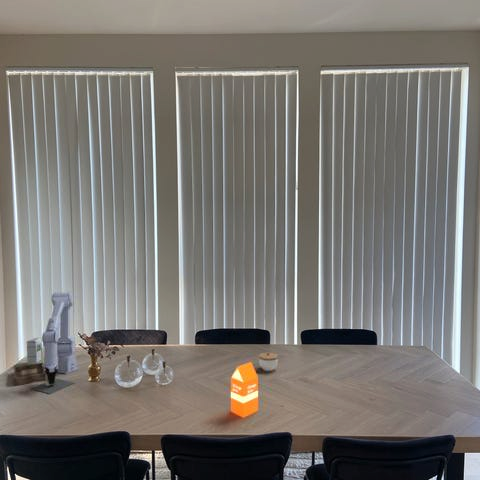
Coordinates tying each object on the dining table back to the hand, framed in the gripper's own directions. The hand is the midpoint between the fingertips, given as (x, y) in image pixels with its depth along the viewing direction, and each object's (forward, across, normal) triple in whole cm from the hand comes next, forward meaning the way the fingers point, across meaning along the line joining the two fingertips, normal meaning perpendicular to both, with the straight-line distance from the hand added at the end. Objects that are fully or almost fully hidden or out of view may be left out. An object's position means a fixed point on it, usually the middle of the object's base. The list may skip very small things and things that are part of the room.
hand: (51, 381), depth 188 cm
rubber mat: (+2, 0, +1) cm, 2 cm away
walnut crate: (+2, -20, -10) cm, 22 cm away
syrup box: (+2, -42, -7) cm, 43 cm away
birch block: (+1, 0, 0) cm, 1 cm away
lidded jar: (+2, +35, +106) cm, 112 cm away
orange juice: (+2, +71, +70) cm, 100 cm away
